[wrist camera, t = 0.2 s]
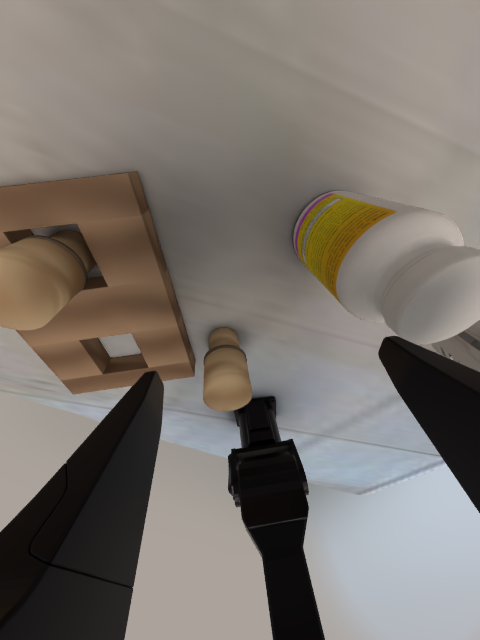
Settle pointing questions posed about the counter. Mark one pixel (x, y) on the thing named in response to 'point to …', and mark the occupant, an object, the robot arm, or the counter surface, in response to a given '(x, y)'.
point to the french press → (461, 347)
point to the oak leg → (226, 372)
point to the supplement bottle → (392, 264)
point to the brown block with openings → (89, 281)
